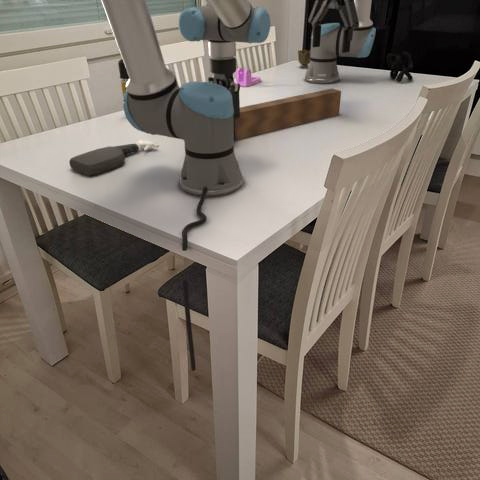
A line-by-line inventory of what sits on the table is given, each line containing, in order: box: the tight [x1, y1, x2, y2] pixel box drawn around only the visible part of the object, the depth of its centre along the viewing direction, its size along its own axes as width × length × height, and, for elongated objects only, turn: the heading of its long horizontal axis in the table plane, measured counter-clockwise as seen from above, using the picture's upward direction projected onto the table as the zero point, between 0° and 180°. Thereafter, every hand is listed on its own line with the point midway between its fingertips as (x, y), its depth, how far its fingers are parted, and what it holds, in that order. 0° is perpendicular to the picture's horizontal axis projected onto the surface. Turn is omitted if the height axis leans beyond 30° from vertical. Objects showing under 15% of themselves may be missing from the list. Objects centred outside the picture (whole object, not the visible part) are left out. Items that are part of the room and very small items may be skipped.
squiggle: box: [385, 51, 414, 83], centre depth 198 cm, size 11×10×15 cm
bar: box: [234, 88, 342, 142], centre depth 145 cm, size 51×5×8 cm, turn 124°
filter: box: [117, 58, 129, 103], centre depth 151 cm, size 6×6×30 cm
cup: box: [297, 49, 311, 69], centre depth 225 cm, size 8×7×8 cm
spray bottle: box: [68, 139, 160, 177], centre depth 124 cm, size 3×11×24 cm
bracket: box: [235, 67, 262, 88], centre depth 199 cm, size 13×6×7 cm, turn 143°
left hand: (225, 137), depth 137 cm, fingers open, 5 cm apart
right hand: (330, 49), depth 145 cm, fingers open, 13 cm apart
